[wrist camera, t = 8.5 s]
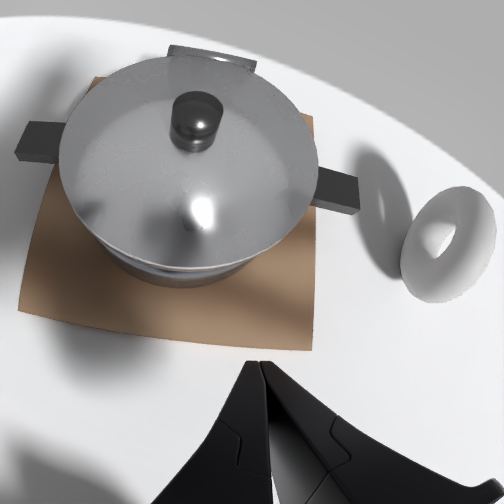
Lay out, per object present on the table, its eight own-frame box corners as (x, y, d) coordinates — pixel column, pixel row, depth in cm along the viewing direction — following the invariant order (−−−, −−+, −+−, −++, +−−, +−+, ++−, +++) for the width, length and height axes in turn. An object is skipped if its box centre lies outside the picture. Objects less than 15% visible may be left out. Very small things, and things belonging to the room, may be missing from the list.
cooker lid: (313, 289, 15) (344, 275, 13) (28, 247, 12) (3, 223, 9) (305, 83, 20) (322, 55, 18) (116, 47, 17) (117, 15, 14)
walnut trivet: (307, 350, 21) (311, 350, 21) (21, 311, 16) (17, 310, 16) (310, 120, 27) (312, 116, 26) (95, 81, 22) (95, 76, 22)
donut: (401, 205, 27) (478, 158, 18) (425, 223, 28) (501, 183, 19) (379, 301, 24) (478, 275, 15) (407, 317, 24) (502, 298, 15)
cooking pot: (326, 306, 22) (369, 295, 17) (14, 260, 16) (-22, 236, 12) (324, 146, 26) (354, 111, 21) (71, 101, 20) (61, 56, 16)
